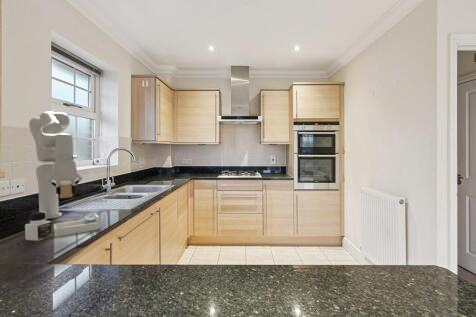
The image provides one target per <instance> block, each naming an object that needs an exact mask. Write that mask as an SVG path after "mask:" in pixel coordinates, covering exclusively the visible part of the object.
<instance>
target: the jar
mask: <svg viewBox="0 0 476 317" xmlns="http://www.w3.org/2000/svg"><path fill="white" fill-rule="evenodd" d="M59 187H60V195H59V198H60V199H67V198H72V197H73V194H72V182H71V181H60V183H59Z"/></svg>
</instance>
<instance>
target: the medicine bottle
mask: <svg viewBox="0 0 476 317" xmlns="http://www.w3.org/2000/svg"><path fill="white" fill-rule="evenodd" d="M24 231H25V232H24V233H25V236H24V237H25V240H26V241H35V242H39V241H41V240H44V239H47V238H50V237H52V236H53V234H52V233H53V232H52V221H51V220H47V219H46V212H43V211H33V212H31V213H30V214H29V223H26V224H25V225H24Z"/></svg>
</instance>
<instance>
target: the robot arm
mask: <svg viewBox="0 0 476 317" xmlns="http://www.w3.org/2000/svg"><path fill="white" fill-rule="evenodd" d="M70 121H71V120H70V117H69V115H68V114H67V113H65V112H58V111H57V112H55V111H44V112H42V113H41V114H39V117H33V118H31V119H30V120H29V123H28V124H29V125H28V126H29V130H30V133H31V136H32V137H33V140H34V142H35V150H36V158H37V161H38V162H40V163H43V164H41V165H38V166H37V167H36V168H35V175H36V180H37V185H38V206H39V207H38V208H39V211H43V212H46V220H49V219H56V218H59V217H61V216H62V215H63V213H62V212H60V211H59V197H60V187H59V183H60V182H72V195H75V193H76V186H77V184H79V183H80V182H81V181H82V180H83V177H82V176H81V175H80V174H78V172H77V166H76V161H75V159H77V155H74V144H73V136H72V135H71V134H69V133H62V132H64V131H65V130H66V129H67V128H68V127H69V126H70ZM51 163H52V164H51ZM39 211H38V212H39Z"/></svg>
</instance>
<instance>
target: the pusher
mask: <svg viewBox="0 0 476 317" xmlns="http://www.w3.org/2000/svg"><path fill="white" fill-rule="evenodd" d="M89 219H90V218H89V217H88V216H84V219H83V220H85V224H88V223H94V222H95V219H93V220H89Z"/></svg>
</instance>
